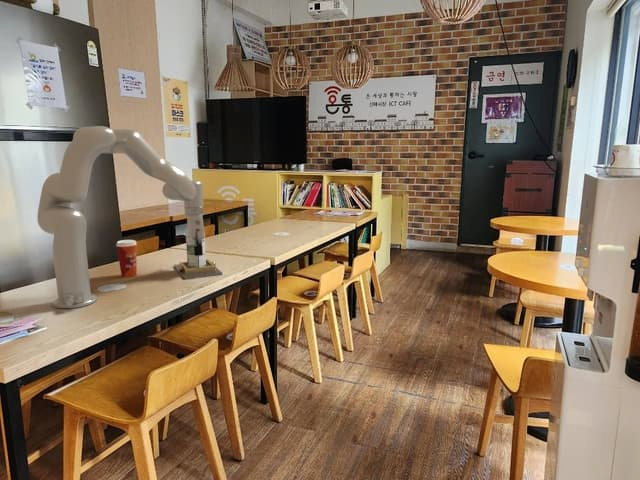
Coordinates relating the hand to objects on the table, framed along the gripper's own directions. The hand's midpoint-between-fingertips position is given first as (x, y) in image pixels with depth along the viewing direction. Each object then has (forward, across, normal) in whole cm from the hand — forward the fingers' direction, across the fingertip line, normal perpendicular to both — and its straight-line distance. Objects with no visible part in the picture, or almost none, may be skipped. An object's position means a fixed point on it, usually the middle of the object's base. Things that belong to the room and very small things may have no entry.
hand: (196, 253), depth 188 cm
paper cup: (+8, +5, +26) cm, 27 cm away
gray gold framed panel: (+8, 0, 0) cm, 8 cm away
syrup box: (+6, 0, 0) cm, 6 cm away
